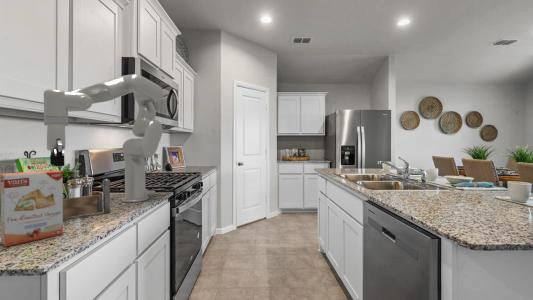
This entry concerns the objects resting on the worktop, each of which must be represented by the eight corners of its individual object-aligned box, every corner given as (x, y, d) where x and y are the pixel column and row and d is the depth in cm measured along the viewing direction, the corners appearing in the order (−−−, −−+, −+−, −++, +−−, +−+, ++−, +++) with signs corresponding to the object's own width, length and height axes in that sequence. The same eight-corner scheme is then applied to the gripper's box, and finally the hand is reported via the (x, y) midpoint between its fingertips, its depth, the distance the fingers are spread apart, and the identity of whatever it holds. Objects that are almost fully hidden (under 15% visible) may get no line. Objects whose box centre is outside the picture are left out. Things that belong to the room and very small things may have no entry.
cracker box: (5, 248, 77) (3, 174, 76) (0, 243, 80) (-2, 173, 80) (64, 234, 88) (63, 170, 87) (58, 230, 91) (56, 169, 91)
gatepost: (109, 211, 116) (109, 178, 116) (111, 213, 114) (111, 178, 113) (101, 212, 114) (101, 178, 113) (103, 214, 112) (103, 179, 111)
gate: (101, 210, 113) (101, 193, 113) (103, 211, 112) (102, 194, 112) (36, 220, 99) (36, 201, 99) (37, 222, 98) (36, 202, 97)
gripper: (41, 122, 109) (42, 164, 110) (46, 120, 97) (47, 167, 98) (64, 123, 115) (65, 163, 115) (72, 121, 102) (73, 166, 103)
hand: (57, 165), depth 106 cm, fingers open, 9 cm apart
